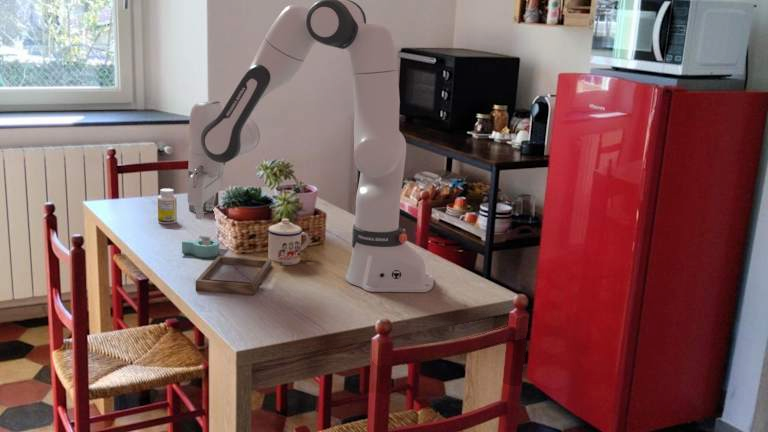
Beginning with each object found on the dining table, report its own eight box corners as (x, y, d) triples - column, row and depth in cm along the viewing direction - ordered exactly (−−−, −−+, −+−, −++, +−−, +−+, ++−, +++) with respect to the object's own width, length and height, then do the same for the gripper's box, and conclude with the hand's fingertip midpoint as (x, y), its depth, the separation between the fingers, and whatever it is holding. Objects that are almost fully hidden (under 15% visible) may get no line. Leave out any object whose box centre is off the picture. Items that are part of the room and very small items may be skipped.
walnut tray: (271, 269, 211) (271, 260, 211) (253, 295, 192) (253, 285, 192) (218, 265, 212) (218, 256, 212) (195, 290, 193) (195, 280, 192)
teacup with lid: (278, 268, 213) (279, 225, 210) (261, 258, 220) (261, 217, 217) (316, 261, 220) (318, 220, 217) (298, 252, 227) (300, 212, 224)
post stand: (229, 253, 223) (229, 233, 221) (219, 264, 213) (219, 243, 212) (193, 250, 223) (193, 230, 222) (181, 261, 214) (181, 240, 212)
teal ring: (221, 250, 221) (221, 240, 220) (214, 257, 215) (214, 247, 214) (186, 248, 222) (186, 237, 221) (179, 255, 215) (179, 244, 215)
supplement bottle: (166, 218, 253) (166, 186, 251) (180, 221, 251) (180, 189, 248) (154, 222, 248) (153, 189, 246) (167, 225, 246) (167, 192, 243)
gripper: (206, 171, 202) (205, 225, 205) (227, 157, 221) (226, 206, 225) (181, 169, 202) (181, 223, 206) (204, 155, 222) (204, 204, 225)
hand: (204, 214), depth 215 cm, fingers open, 8 cm apart
